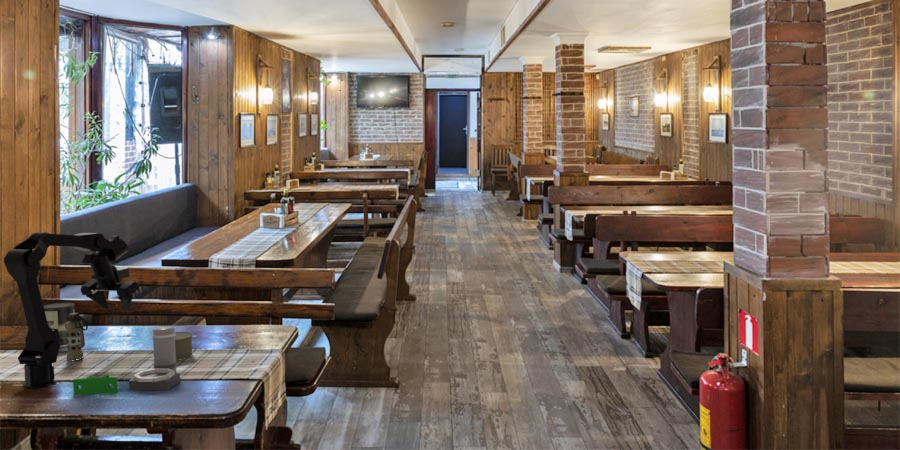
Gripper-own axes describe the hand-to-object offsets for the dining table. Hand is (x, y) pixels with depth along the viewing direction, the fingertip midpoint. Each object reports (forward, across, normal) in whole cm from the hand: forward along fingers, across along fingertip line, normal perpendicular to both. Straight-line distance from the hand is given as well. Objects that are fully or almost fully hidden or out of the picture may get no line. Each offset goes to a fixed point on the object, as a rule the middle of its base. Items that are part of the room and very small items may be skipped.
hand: (118, 310), depth 236 cm
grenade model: (+12, +11, +11) cm, 20 cm away
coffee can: (+18, +34, -1) cm, 38 cm away
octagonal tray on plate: (+5, -33, +27) cm, 43 cm away
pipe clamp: (+2, -22, +36) cm, 43 cm away
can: (+17, -16, +1) cm, 23 cm away
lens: (+9, -29, +19) cm, 36 cm away
